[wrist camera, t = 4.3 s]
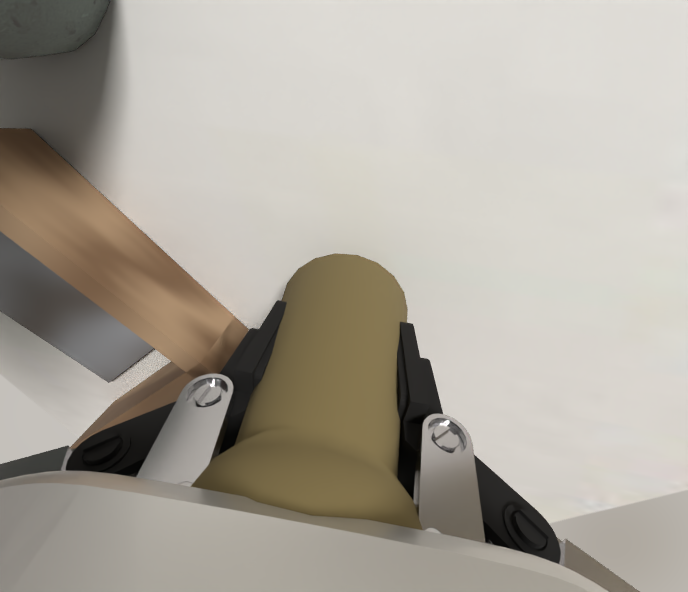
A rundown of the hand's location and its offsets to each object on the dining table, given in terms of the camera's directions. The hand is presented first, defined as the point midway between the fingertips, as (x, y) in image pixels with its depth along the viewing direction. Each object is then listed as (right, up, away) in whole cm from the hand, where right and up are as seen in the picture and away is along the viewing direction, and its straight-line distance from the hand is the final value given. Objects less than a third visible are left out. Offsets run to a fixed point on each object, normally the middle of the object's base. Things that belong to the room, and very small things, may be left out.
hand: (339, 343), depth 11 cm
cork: (0, +1, +2) cm, 3 cm away
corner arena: (-17, +2, +6) cm, 18 cm away
